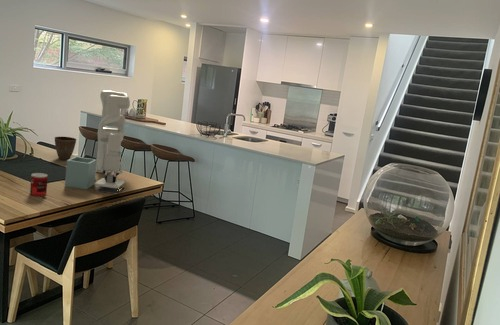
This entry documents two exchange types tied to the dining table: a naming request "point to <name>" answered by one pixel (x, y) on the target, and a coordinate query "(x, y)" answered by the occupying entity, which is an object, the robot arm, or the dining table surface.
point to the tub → (80, 172)
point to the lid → (109, 182)
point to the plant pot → (64, 147)
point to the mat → (108, 189)
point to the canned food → (38, 184)
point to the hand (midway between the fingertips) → (110, 181)
